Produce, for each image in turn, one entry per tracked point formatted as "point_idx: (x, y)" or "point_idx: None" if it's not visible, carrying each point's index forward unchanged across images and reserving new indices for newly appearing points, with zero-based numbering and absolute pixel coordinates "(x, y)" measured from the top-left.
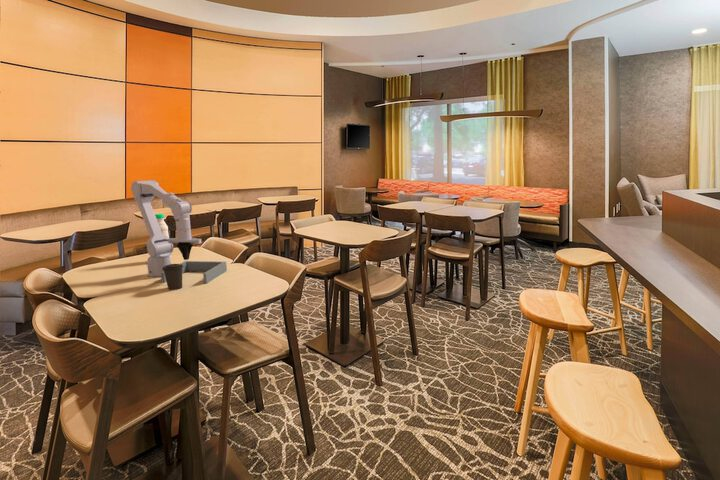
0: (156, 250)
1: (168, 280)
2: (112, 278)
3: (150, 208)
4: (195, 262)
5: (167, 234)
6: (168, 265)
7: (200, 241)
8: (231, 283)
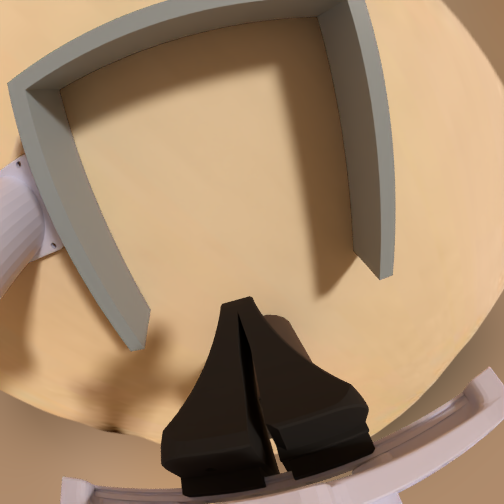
0: None
1: None
2: None
3: None
4: (93, 50)
5: None
6: (268, 430)
7: (491, 396)
8: (449, 209)
